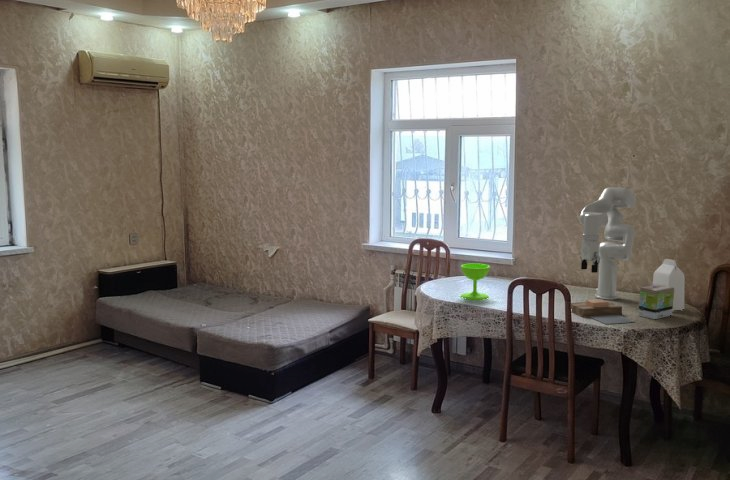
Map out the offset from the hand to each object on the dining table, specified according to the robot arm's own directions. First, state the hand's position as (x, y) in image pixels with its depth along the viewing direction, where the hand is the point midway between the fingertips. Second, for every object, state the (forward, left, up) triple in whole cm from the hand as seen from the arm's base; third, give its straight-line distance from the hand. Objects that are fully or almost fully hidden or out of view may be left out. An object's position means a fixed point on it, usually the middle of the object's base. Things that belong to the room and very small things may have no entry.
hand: (589, 270), depth 346 cm
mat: (+22, 0, -21) cm, 30 cm away
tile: (+9, 0, -15) cm, 18 cm away
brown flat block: (+7, 0, -21) cm, 22 cm away
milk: (+8, +42, -21) cm, 47 cm away
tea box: (+20, +26, -21) cm, 39 cm away
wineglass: (-40, -46, -21) cm, 65 cm away
